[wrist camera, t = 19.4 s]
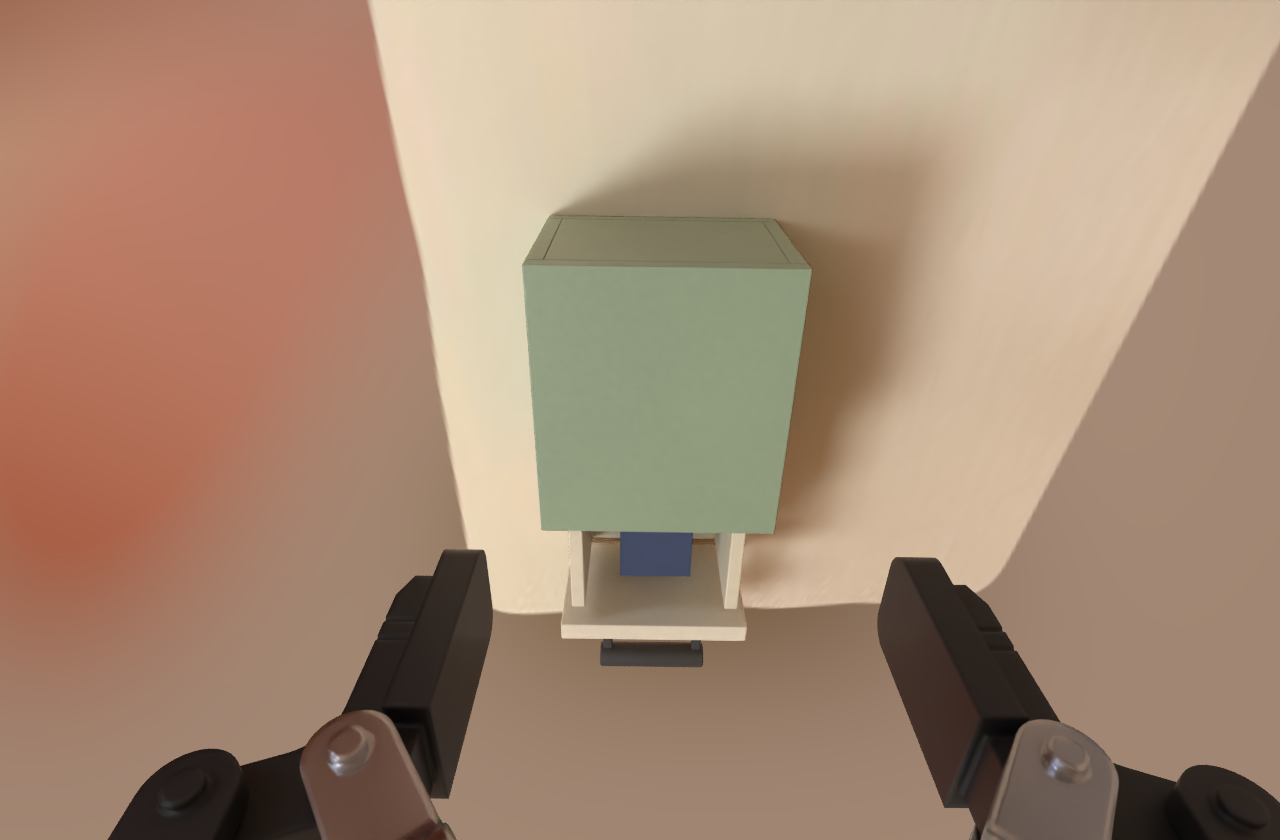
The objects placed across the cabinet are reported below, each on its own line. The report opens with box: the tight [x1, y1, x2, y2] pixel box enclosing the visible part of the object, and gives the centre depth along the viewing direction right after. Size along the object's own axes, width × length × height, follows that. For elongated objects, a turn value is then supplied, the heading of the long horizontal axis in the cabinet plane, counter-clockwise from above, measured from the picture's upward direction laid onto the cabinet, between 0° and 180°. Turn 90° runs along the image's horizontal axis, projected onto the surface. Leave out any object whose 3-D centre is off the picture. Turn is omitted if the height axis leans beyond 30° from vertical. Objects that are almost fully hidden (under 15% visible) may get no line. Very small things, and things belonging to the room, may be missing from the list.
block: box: [620, 532, 693, 577], centre depth 43 cm, size 4×4×4 cm
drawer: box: [561, 531, 747, 667], centre depth 43 cm, size 19×11×8 cm, turn 179°
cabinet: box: [522, 215, 812, 534], centre depth 37 cm, size 15×13×10 cm
